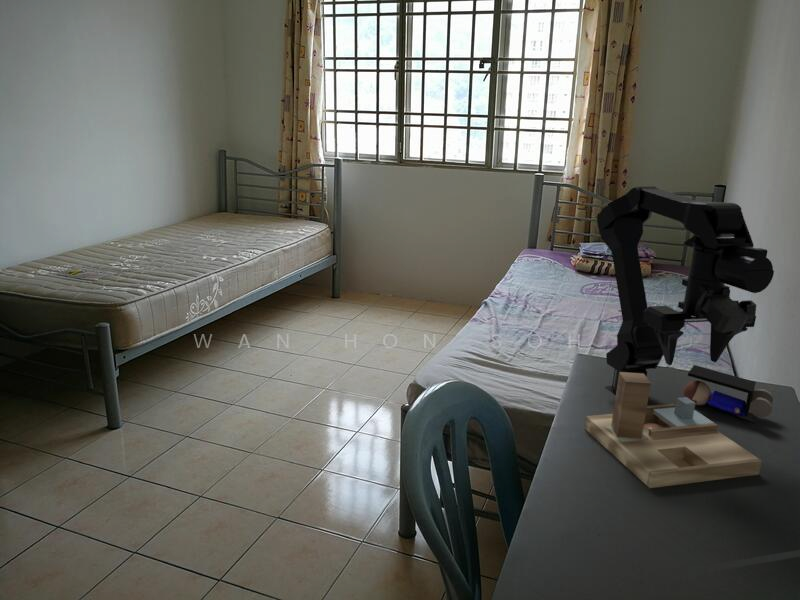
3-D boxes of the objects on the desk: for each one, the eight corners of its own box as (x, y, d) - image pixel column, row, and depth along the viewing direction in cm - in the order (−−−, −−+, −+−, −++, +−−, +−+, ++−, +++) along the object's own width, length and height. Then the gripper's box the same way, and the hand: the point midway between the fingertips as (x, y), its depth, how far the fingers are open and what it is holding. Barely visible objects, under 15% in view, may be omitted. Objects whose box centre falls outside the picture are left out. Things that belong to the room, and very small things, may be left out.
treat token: (638, 431, 114) (639, 424, 114) (655, 429, 115) (656, 422, 115) (651, 441, 111) (652, 433, 110) (668, 439, 112) (670, 431, 111)
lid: (652, 413, 116) (655, 394, 115) (688, 410, 118) (691, 391, 116) (676, 430, 110) (680, 410, 108) (713, 426, 111) (717, 407, 110)
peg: (611, 425, 110) (619, 371, 107) (634, 427, 110) (643, 373, 107) (616, 437, 106) (625, 381, 103) (641, 438, 106) (650, 383, 103)
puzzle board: (583, 431, 114) (586, 411, 113) (679, 422, 119) (683, 402, 118) (649, 491, 97) (653, 468, 96) (758, 477, 102) (763, 455, 101)
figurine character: (765, 422, 124) (683, 393, 132) (778, 387, 122) (694, 360, 129) (762, 435, 119) (677, 405, 126) (776, 399, 116) (688, 370, 123)
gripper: (691, 291, 99) (675, 384, 103) (790, 288, 103) (770, 377, 108) (647, 273, 109) (634, 359, 113) (739, 271, 114) (723, 353, 118)
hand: (691, 362), depth 113 cm, fingers open, 9 cm apart
